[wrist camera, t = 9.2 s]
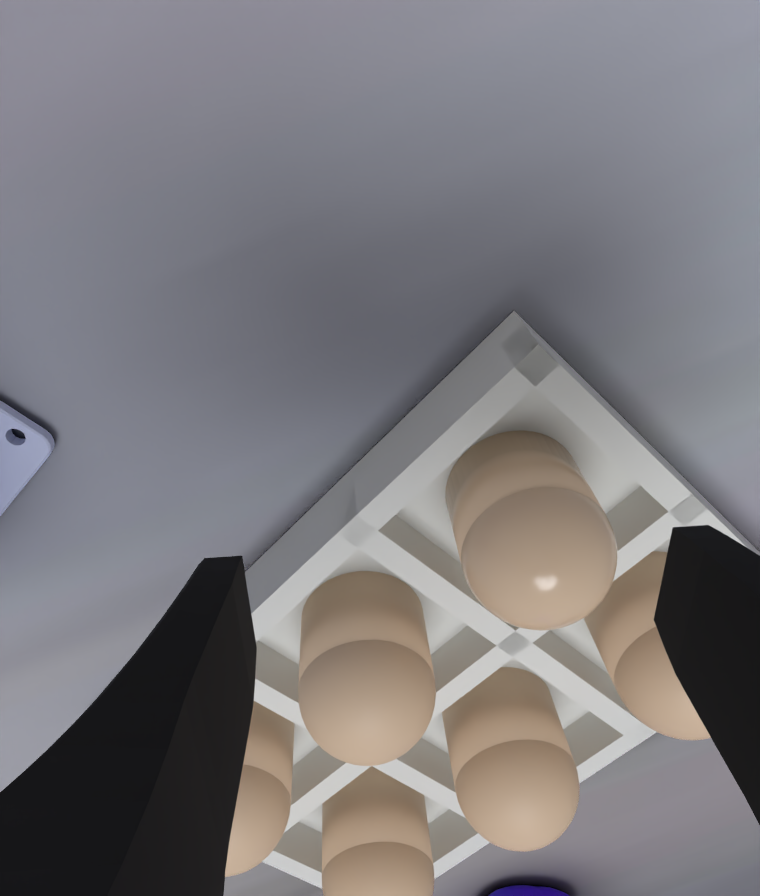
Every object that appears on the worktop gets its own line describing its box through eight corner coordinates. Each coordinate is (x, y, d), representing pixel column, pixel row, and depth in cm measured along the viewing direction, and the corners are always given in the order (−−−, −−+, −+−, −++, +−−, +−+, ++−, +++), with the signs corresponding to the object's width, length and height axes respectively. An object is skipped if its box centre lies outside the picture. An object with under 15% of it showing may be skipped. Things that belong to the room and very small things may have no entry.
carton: (98, 714, 26) (40, 881, 21) (514, 310, 19) (582, 404, 14) (376, 852, 31) (386, 1013, 26) (777, 569, 25) (898, 708, 19)
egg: (417, 496, 21) (438, 612, 17) (516, 404, 20) (567, 504, 15) (508, 564, 22) (549, 687, 18) (605, 482, 21) (675, 594, 17)
